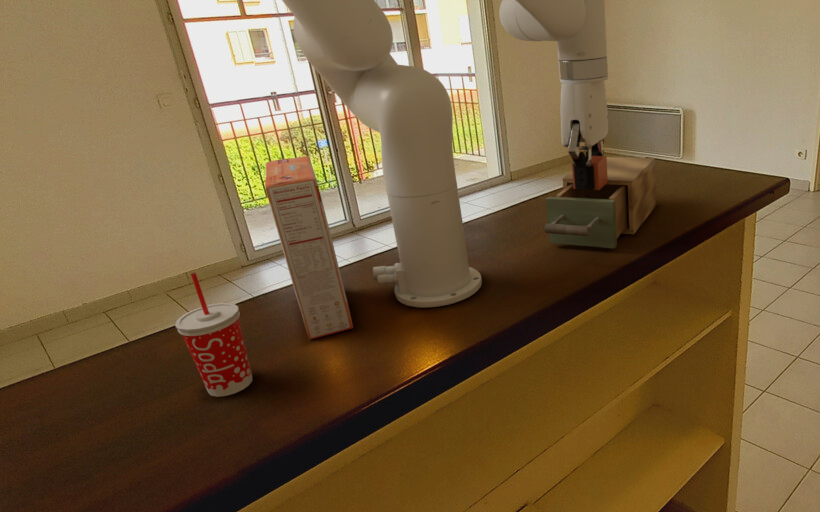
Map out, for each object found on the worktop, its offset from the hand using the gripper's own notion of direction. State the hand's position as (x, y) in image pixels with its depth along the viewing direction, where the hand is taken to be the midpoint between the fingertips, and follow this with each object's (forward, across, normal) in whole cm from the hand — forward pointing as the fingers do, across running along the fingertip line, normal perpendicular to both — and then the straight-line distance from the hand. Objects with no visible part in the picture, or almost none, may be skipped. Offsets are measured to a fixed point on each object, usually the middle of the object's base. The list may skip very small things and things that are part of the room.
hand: (590, 183), depth 101 cm
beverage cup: (+10, +52, -26) cm, 59 cm away
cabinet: (+10, -11, 0) cm, 15 cm away
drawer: (+9, +2, 0) cm, 9 cm away
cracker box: (+10, +35, -27) cm, 45 cm away
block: (0, 0, 0) cm, 0 cm away
